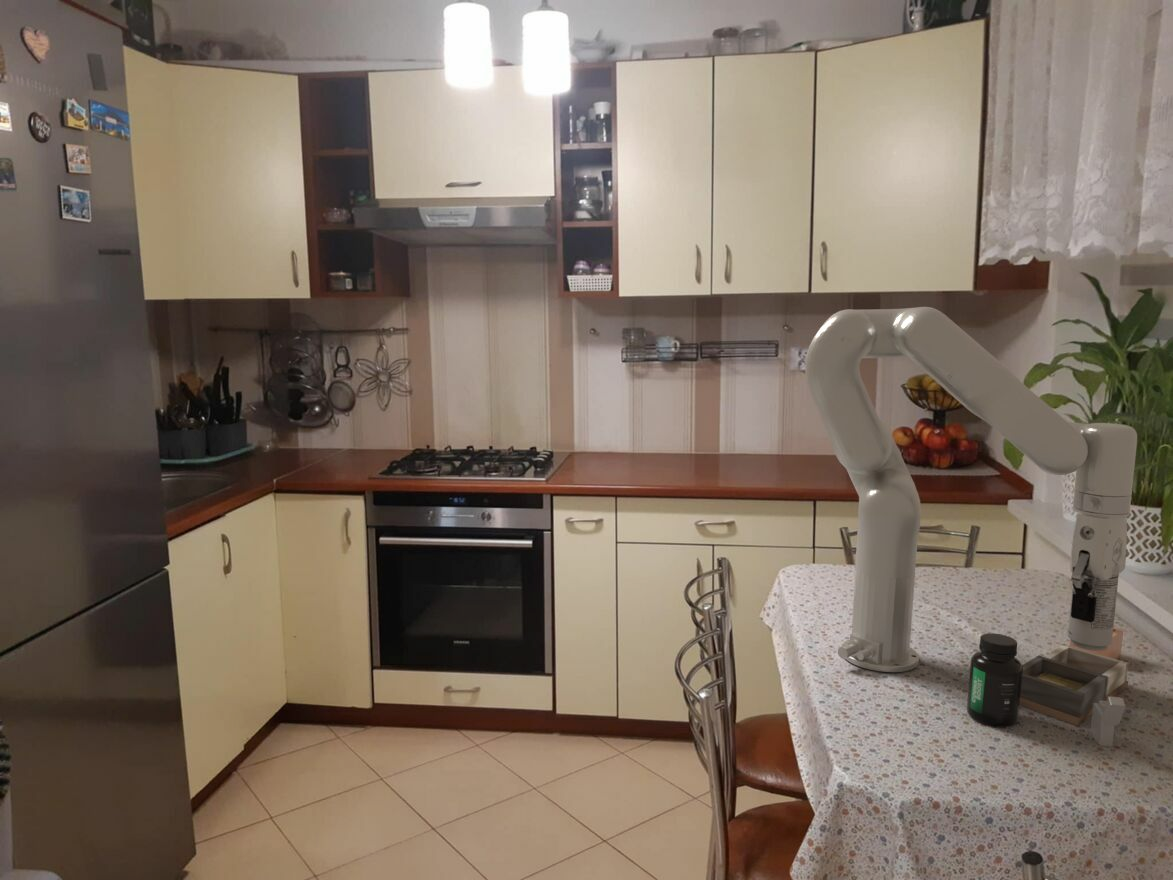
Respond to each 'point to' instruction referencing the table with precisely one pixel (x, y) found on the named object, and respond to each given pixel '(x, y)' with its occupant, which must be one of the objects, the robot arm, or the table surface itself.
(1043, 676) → the khaki flat square slab
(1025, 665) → the wooden tray
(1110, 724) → the grey notched block
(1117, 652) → the square terracotta planter
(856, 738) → the table surface
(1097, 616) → the energy drink can
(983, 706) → the supplement bottle
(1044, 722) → the table surface
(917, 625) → the table surface
